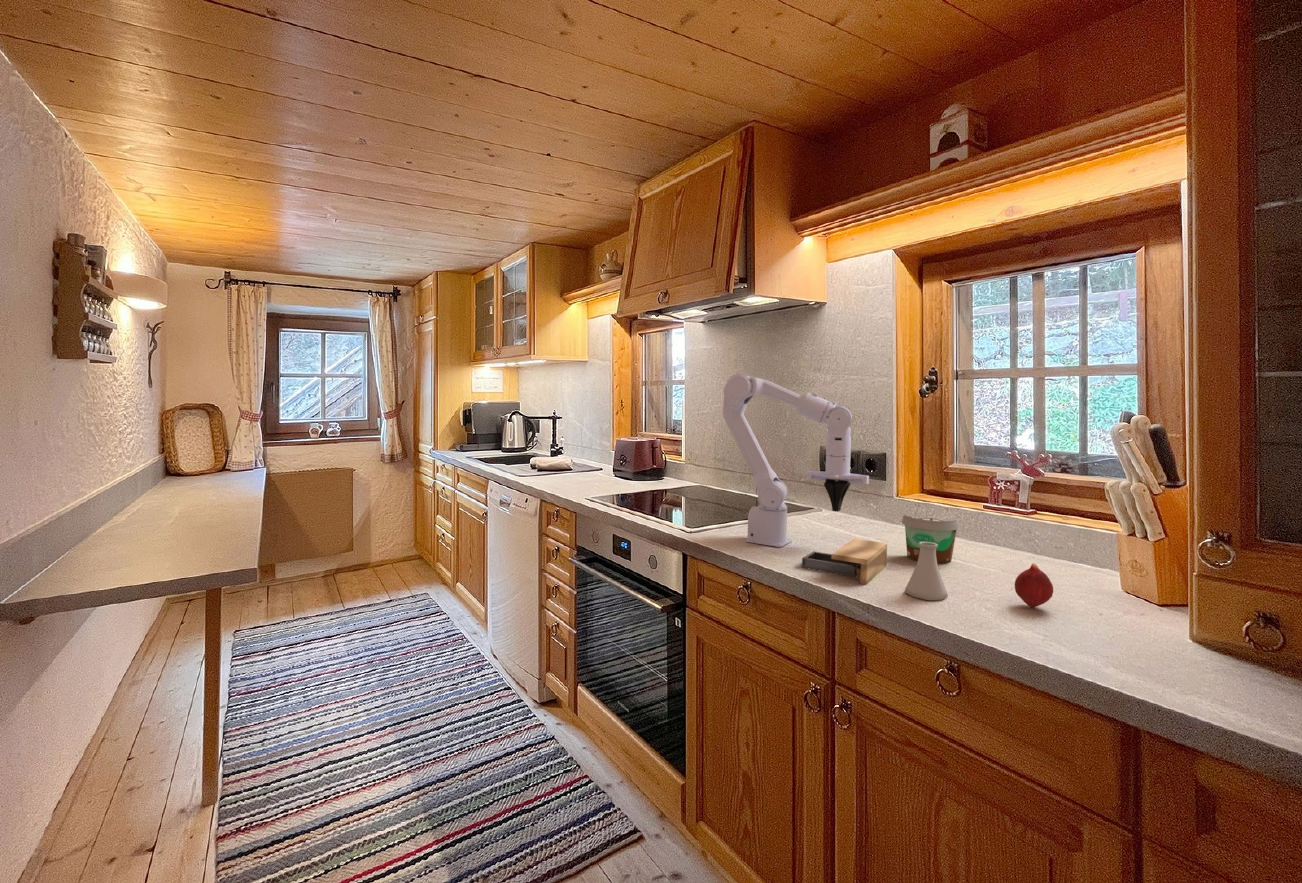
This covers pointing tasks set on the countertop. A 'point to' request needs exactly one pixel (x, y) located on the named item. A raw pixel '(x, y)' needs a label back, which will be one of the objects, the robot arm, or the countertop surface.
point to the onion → (1033, 586)
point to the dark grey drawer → (829, 564)
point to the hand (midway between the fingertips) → (836, 510)
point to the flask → (926, 575)
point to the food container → (930, 536)
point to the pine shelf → (864, 557)
